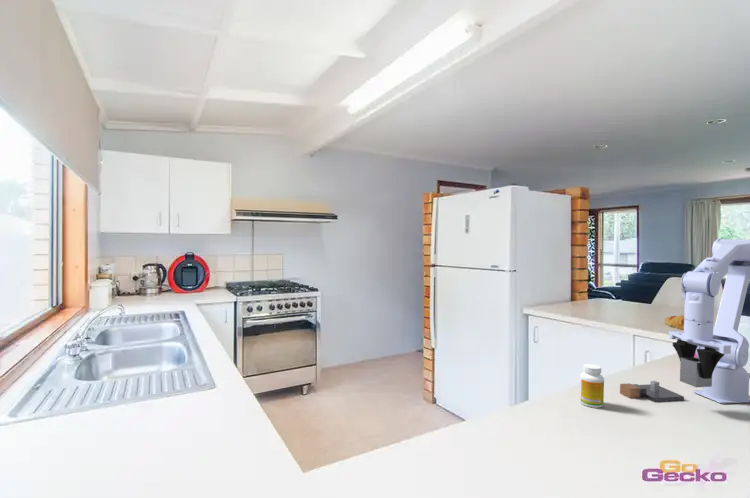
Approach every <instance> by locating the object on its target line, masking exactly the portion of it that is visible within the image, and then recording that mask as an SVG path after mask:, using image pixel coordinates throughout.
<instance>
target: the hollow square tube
mask: <svg viewBox="0 0 750 498" xmlns="http://www.w3.org/2000/svg"><path fill="white" fill-rule="evenodd" d="M679 365H680V369H679V381H680V382H682V383H684V384H687V385H688V386H691V387H694V388H703V387H712V377H711V378H709V379H704V378H701V372H700V359H699V358H698V357H681V362H680V363H679Z"/></svg>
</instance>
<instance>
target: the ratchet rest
mask: <svg viewBox="0 0 750 498" xmlns="http://www.w3.org/2000/svg"><path fill="white" fill-rule="evenodd" d="M619 394H621V395H622V396H624V397H626V398H627V399H640V398H645V399H647V400H649V401H651V402H653V403H656V402H659V403H660V402H674V401H675V402H677V401H679V402H680V401H684V400H685V396H684V395H681V394H679V393H677V392H675V391H672V390H669V389H667V388H665V387H663V386H660V382H658V381H657V380H650V381H649V384H638V383H636V384H635V383H633V384H632V383H619Z"/></svg>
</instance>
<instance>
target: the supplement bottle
mask: <svg viewBox="0 0 750 498" xmlns="http://www.w3.org/2000/svg"><path fill="white" fill-rule="evenodd" d="M582 370H583V372H581V373H580V375H579V397H578V398H579V400H578V401H579V403H580V404H581V405H583V406H586V407H587V408H588V407H589V408H594V409H599V408H600V409H601V408H603V406H604V394H605V393H604V392H605V390H604V389H605V378H604V376H603V375H602V367H601V365H596V364H594V363H584V364H583V369H582Z"/></svg>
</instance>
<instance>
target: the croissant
mask: <svg viewBox="0 0 750 498" xmlns="http://www.w3.org/2000/svg"><path fill="white" fill-rule="evenodd" d="M664 322H665V324H666V325H667V326H669V327H671V328H675V329H678V330H683V331H684V314H682V315H681V314H680V315H673V316H670V317H666V318H665V319H664Z"/></svg>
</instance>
